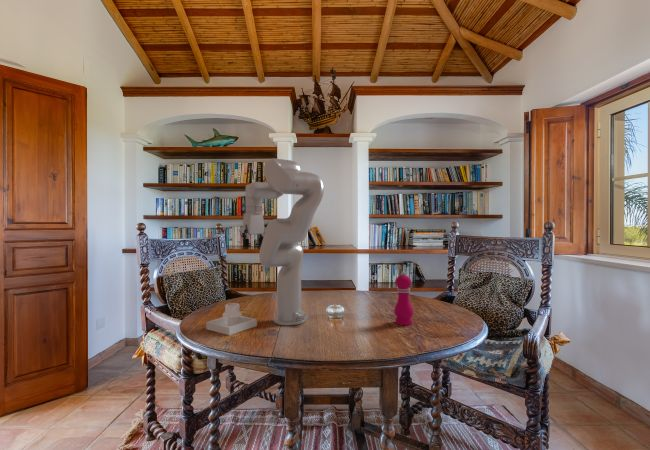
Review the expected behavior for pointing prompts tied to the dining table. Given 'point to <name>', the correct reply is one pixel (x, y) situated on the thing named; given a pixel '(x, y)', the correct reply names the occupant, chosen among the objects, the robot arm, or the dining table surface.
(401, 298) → the pepper mill
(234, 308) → the pipe fitting
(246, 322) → the tray
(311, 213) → the robot arm
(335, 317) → the dining table surface
